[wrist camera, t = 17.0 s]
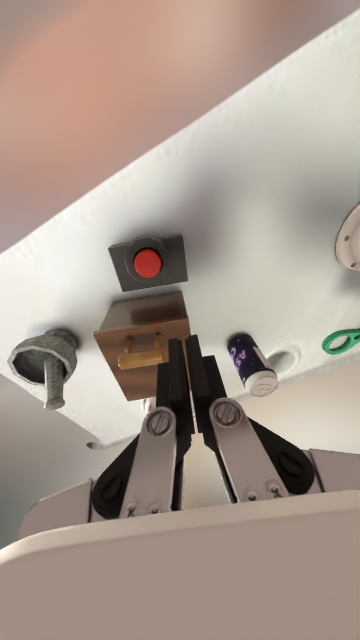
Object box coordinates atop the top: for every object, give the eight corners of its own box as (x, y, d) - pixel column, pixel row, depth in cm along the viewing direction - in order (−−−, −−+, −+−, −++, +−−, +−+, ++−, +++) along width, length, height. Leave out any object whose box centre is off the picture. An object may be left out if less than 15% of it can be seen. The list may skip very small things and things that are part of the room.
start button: (158, 246, 27) (157, 249, 25) (162, 271, 28) (163, 275, 27) (132, 251, 27) (131, 254, 25) (139, 275, 28) (138, 279, 27)
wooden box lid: (93, 330, 25) (79, 361, 20) (187, 315, 25) (193, 342, 20) (128, 397, 34) (123, 428, 29) (197, 386, 34) (203, 415, 29)
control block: (180, 228, 28) (182, 231, 25) (186, 277, 32) (189, 285, 30) (108, 240, 28) (102, 245, 25) (124, 288, 33) (120, 296, 30)
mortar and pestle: (21, 337, 36) (-34, 390, 26) (55, 313, 34) (9, 360, 24) (69, 370, 42) (39, 424, 31) (100, 351, 39) (79, 402, 29)
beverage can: (232, 329, 39) (256, 373, 29) (256, 334, 40) (287, 378, 30) (222, 349, 42) (241, 396, 32) (244, 353, 43) (270, 400, 33)
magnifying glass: (323, 355, 46) (328, 360, 44) (320, 338, 43) (326, 343, 41) (391, 327, 43) (399, 331, 41) (393, 307, 40) (402, 311, 38)
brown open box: (112, 302, 34) (97, 332, 26) (181, 290, 34) (187, 317, 26) (134, 360, 42) (128, 397, 34) (190, 351, 41) (197, 385, 34)
